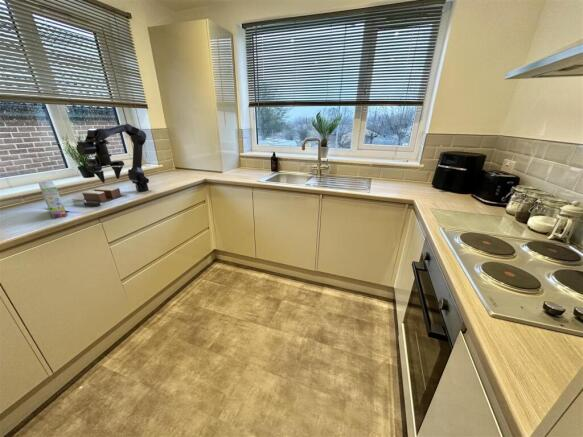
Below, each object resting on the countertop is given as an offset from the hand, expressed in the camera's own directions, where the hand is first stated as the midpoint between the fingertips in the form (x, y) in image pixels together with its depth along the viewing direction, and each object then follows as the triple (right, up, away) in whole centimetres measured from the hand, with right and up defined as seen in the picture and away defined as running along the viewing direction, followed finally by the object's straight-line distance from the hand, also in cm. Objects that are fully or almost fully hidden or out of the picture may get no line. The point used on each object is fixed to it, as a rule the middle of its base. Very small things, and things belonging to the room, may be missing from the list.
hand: (111, 180), depth 138 cm
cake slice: (-11, -11, +2) cm, 15 cm away
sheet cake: (-9, -8, +10) cm, 15 cm away
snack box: (-17, -19, -13) cm, 29 cm away
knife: (-9, -15, -6) cm, 19 cm away
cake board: (-10, -10, +7) cm, 16 cm away
